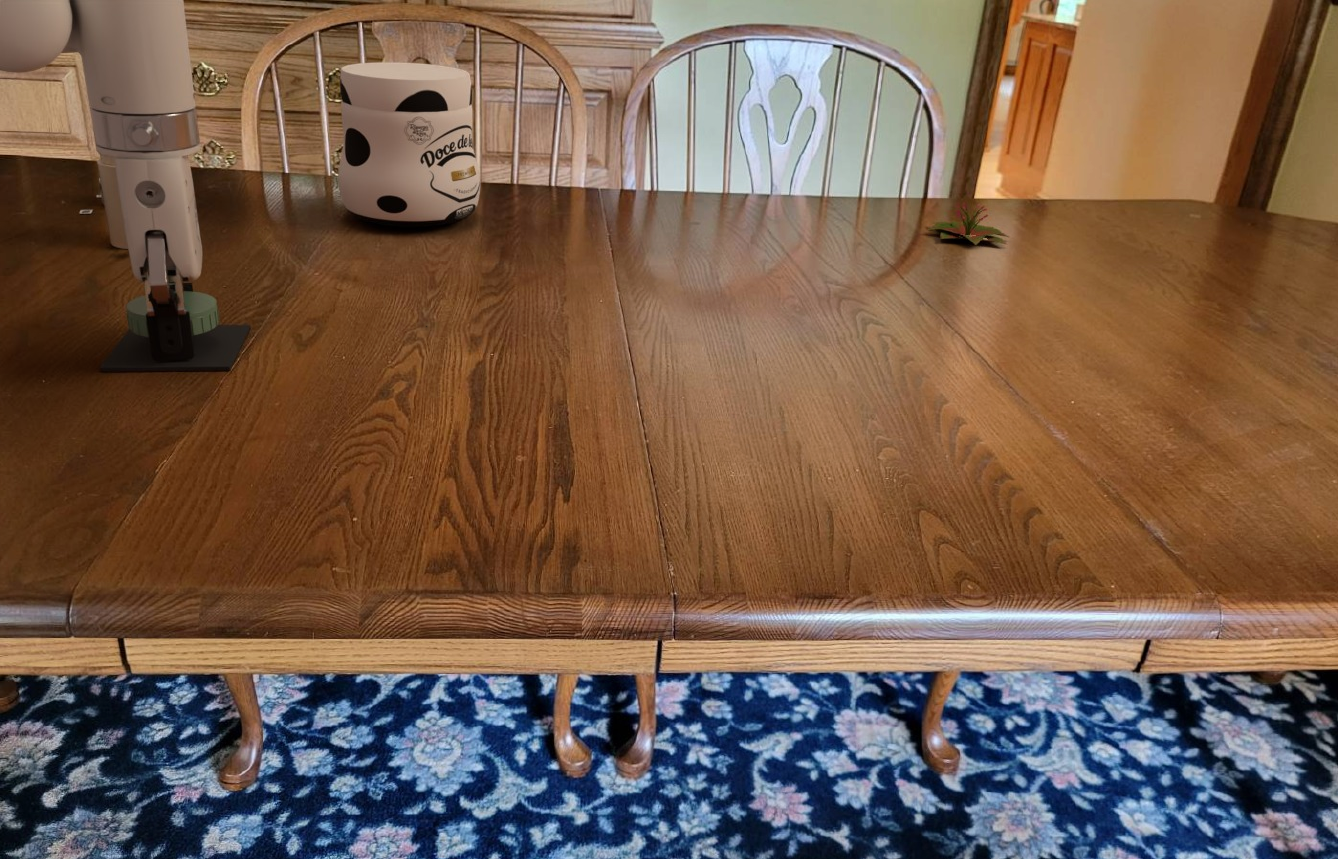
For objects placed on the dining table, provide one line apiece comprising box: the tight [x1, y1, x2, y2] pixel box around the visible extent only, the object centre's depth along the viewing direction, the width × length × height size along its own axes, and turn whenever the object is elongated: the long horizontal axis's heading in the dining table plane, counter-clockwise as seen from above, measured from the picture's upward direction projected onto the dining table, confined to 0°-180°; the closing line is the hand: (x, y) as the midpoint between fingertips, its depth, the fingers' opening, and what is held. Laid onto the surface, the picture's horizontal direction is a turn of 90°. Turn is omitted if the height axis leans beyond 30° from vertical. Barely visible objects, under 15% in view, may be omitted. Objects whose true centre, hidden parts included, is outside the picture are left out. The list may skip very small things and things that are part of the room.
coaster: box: [99, 324, 251, 373], centre depth 91 cm, size 10×10×1 cm
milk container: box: [337, 61, 481, 228], centre depth 130 cm, size 17×17×18 cm
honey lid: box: [125, 291, 220, 337], centre depth 90 cm, size 7×7×2 cm
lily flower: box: [925, 202, 1010, 246], centre depth 143 cm, size 12×12×5 cm
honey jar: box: [96, 152, 128, 250], centre depth 116 cm, size 6×6×11 cm
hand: (175, 340), depth 91 cm, fingers closed on honey lid, 6 cm apart
